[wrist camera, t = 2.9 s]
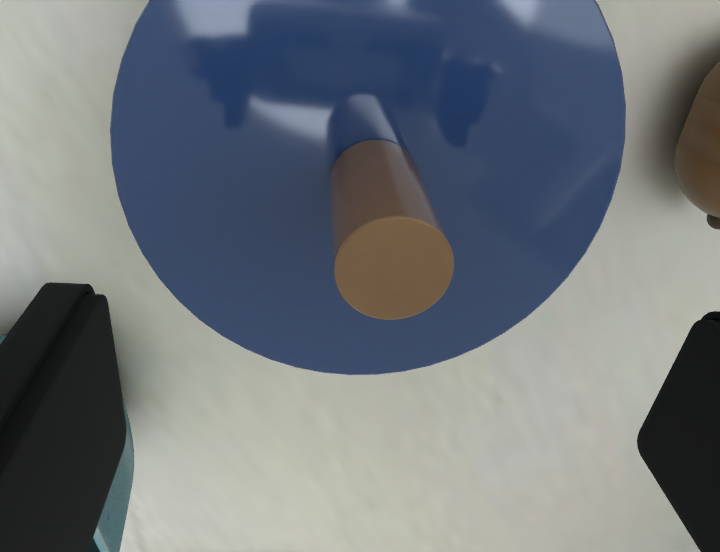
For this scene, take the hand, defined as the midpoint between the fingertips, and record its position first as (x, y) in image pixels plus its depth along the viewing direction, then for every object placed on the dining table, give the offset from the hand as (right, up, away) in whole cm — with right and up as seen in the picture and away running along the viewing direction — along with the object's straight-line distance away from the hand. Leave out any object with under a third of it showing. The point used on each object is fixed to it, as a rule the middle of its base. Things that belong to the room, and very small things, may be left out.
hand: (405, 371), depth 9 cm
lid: (0, +5, +8) cm, 9 cm away
